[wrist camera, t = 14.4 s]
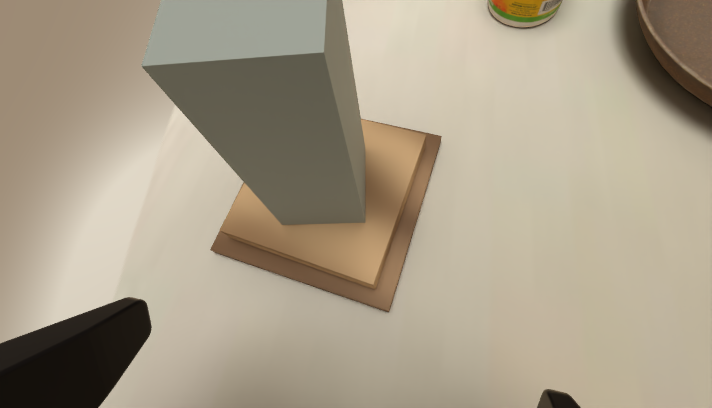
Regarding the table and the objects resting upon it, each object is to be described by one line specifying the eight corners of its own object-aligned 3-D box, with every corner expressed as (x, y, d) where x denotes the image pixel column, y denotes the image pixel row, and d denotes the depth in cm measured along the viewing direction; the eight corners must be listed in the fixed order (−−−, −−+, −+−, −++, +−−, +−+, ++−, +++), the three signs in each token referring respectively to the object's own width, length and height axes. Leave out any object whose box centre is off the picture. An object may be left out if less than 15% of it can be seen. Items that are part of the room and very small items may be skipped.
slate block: (365, 222, 21) (323, 52, 9) (282, 224, 22) (141, 66, 10) (365, 148, 23) (330, -72, 11) (288, 152, 24) (177, -55, 12)
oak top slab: (375, 289, 21) (373, 284, 20) (230, 237, 24) (219, 230, 22) (425, 147, 24) (426, 134, 23) (293, 115, 27) (287, 101, 26)
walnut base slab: (389, 313, 22) (388, 310, 21) (221, 255, 25) (210, 249, 24) (439, 147, 26) (441, 136, 25) (289, 114, 29) (283, 101, 27)
